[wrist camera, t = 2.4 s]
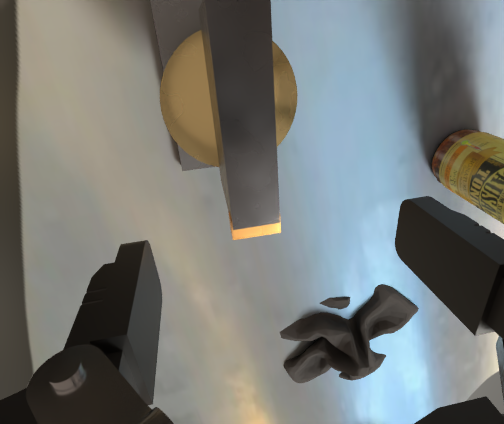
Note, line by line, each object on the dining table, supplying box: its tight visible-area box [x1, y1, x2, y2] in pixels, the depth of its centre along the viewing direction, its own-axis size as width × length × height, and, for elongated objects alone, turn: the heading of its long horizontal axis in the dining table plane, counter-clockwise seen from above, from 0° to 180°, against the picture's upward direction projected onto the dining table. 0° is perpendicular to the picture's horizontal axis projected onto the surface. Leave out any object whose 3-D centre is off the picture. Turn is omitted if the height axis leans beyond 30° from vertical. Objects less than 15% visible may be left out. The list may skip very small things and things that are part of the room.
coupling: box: [160, 0, 297, 240], centre depth 17 cm, size 10×8×9 cm
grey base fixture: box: [150, 0, 215, 171], centre depth 24 cm, size 14×8×7 cm, turn 4°
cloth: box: [280, 284, 419, 383], centre depth 43 cm, size 22×19×6 cm
